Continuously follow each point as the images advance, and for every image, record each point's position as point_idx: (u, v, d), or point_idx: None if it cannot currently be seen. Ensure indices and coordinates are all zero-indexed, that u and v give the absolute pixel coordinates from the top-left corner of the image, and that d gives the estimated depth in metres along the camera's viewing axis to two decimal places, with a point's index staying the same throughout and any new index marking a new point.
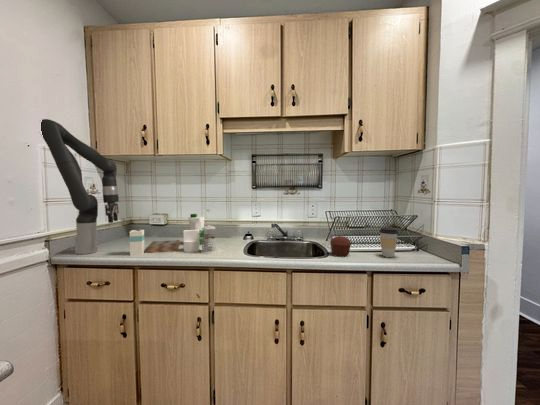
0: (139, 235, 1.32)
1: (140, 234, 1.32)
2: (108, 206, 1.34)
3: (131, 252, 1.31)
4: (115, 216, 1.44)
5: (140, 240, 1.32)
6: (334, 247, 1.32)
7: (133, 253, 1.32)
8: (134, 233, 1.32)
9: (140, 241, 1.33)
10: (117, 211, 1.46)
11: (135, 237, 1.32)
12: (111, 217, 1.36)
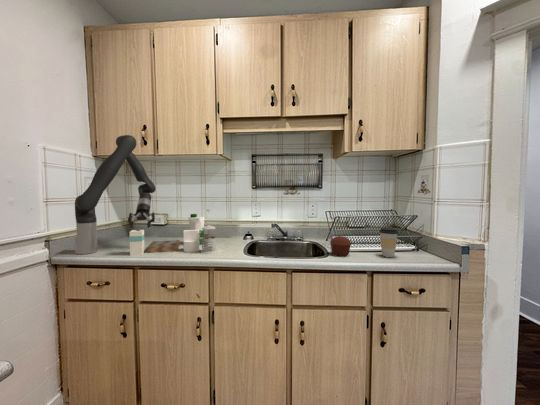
0: (139, 235, 1.32)
1: (140, 234, 1.32)
2: (154, 215, 1.50)
3: (131, 252, 1.31)
4: (133, 224, 1.43)
5: (140, 240, 1.33)
6: (334, 247, 1.32)
7: (133, 253, 1.32)
8: (134, 233, 1.32)
9: (140, 241, 1.33)
10: None
11: (135, 237, 1.32)
12: None
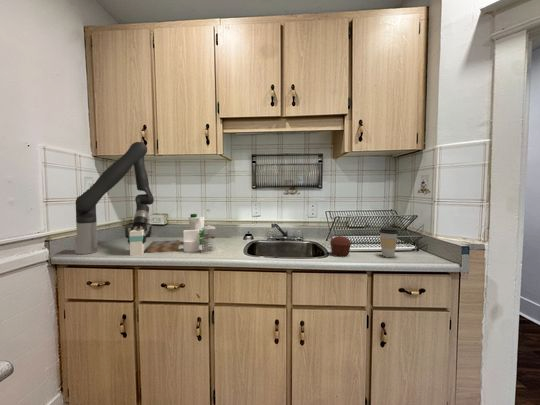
0: (139, 235, 1.32)
1: (140, 234, 1.32)
2: (151, 229, 1.41)
3: (131, 252, 1.31)
4: None
5: (140, 240, 1.32)
6: (334, 247, 1.32)
7: (133, 253, 1.32)
8: (134, 233, 1.31)
9: (140, 241, 1.32)
10: None
11: (135, 237, 1.32)
12: None
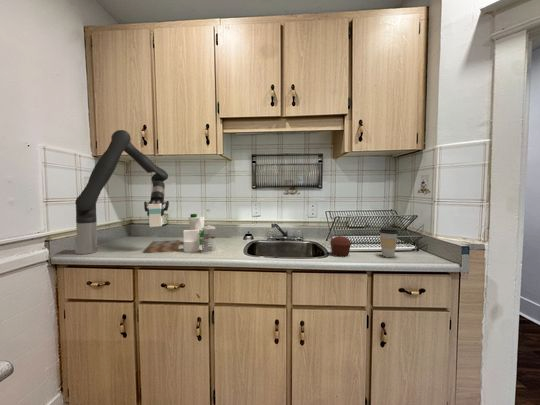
0: (158, 208, 1.39)
1: (158, 207, 1.39)
2: (168, 203, 1.48)
3: (150, 224, 1.39)
4: None
5: (159, 212, 1.39)
6: (334, 247, 1.32)
7: (152, 225, 1.39)
8: (153, 206, 1.38)
9: (159, 213, 1.40)
10: None
11: (154, 209, 1.39)
12: None
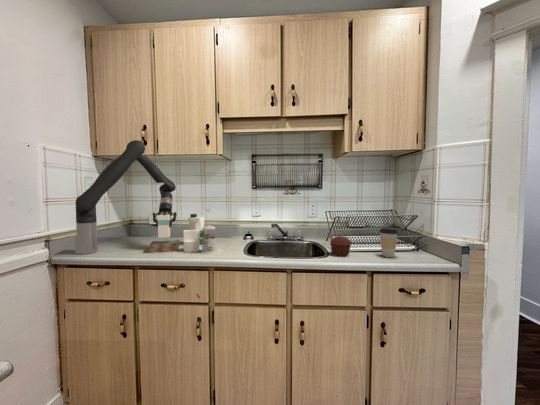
0: (166, 219, 1.43)
1: (167, 218, 1.43)
2: (176, 215, 1.52)
3: (159, 235, 1.43)
4: None
5: (167, 224, 1.44)
6: (334, 247, 1.32)
7: (161, 236, 1.43)
8: (162, 217, 1.43)
9: (167, 225, 1.44)
10: None
11: (163, 221, 1.43)
12: None
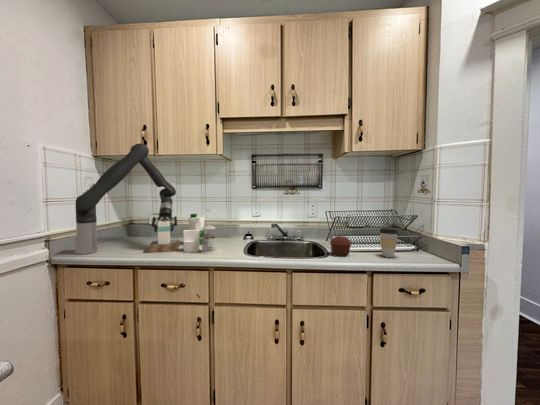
0: (166, 225, 1.44)
1: (167, 225, 1.44)
2: (176, 219, 1.53)
3: (159, 241, 1.43)
4: (157, 227, 1.45)
5: (167, 230, 1.44)
6: (334, 247, 1.32)
7: (161, 242, 1.43)
8: (162, 224, 1.43)
9: (167, 231, 1.44)
10: None
11: (163, 227, 1.43)
12: None
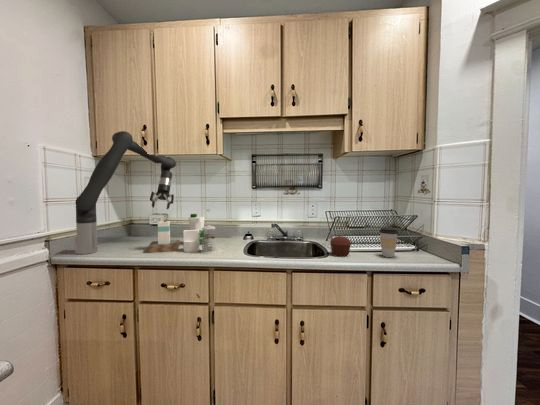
0: (166, 225, 1.44)
1: (167, 225, 1.44)
2: (173, 196, 1.63)
3: (159, 241, 1.43)
4: (154, 203, 1.58)
5: (167, 230, 1.44)
6: (334, 247, 1.32)
7: (161, 242, 1.43)
8: (162, 224, 1.43)
9: (167, 231, 1.44)
10: None
11: (163, 227, 1.43)
12: None
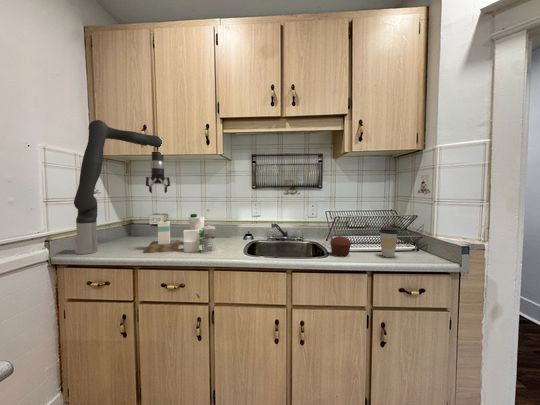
0: (166, 225, 1.44)
1: (167, 225, 1.44)
2: (169, 178, 1.60)
3: (159, 241, 1.43)
4: (151, 188, 1.57)
5: (167, 230, 1.44)
6: (334, 247, 1.32)
7: (161, 242, 1.43)
8: (162, 224, 1.43)
9: (167, 231, 1.44)
10: (148, 184, 1.57)
11: (163, 227, 1.43)
12: None
